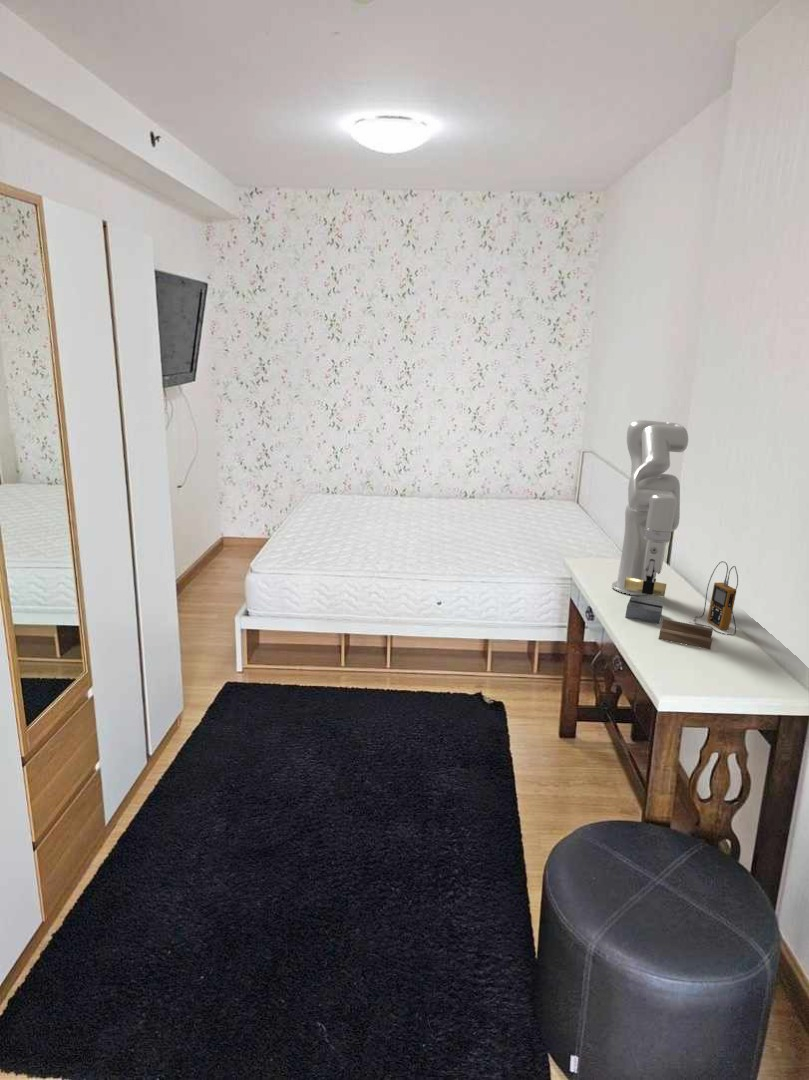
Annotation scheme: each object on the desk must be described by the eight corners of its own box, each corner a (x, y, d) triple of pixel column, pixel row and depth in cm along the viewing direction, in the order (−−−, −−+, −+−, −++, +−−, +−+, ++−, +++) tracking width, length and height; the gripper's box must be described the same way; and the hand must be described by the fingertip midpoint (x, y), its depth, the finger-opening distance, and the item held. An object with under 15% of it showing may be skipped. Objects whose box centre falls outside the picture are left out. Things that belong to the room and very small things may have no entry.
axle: (623, 591, 226) (625, 579, 225) (625, 585, 230) (627, 574, 228) (663, 598, 222) (665, 587, 220) (665, 593, 225) (667, 581, 224)
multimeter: (679, 617, 229) (690, 556, 223) (707, 617, 231) (719, 557, 226) (707, 635, 215) (719, 571, 210) (736, 635, 217) (750, 572, 212)
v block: (629, 608, 234) (631, 596, 233) (661, 614, 230) (663, 602, 229) (625, 617, 225) (627, 605, 224) (658, 624, 221) (660, 612, 220)
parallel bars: (661, 626, 220) (663, 618, 219) (711, 636, 214) (712, 628, 214) (658, 638, 209) (660, 630, 209) (710, 649, 204) (712, 641, 204)
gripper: (668, 542, 212) (658, 601, 216) (672, 531, 227) (662, 587, 231) (641, 538, 214) (632, 596, 219) (647, 527, 229) (638, 582, 234)
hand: (647, 591), depth 225 cm, fingers closed on axle, 4 cm apart
